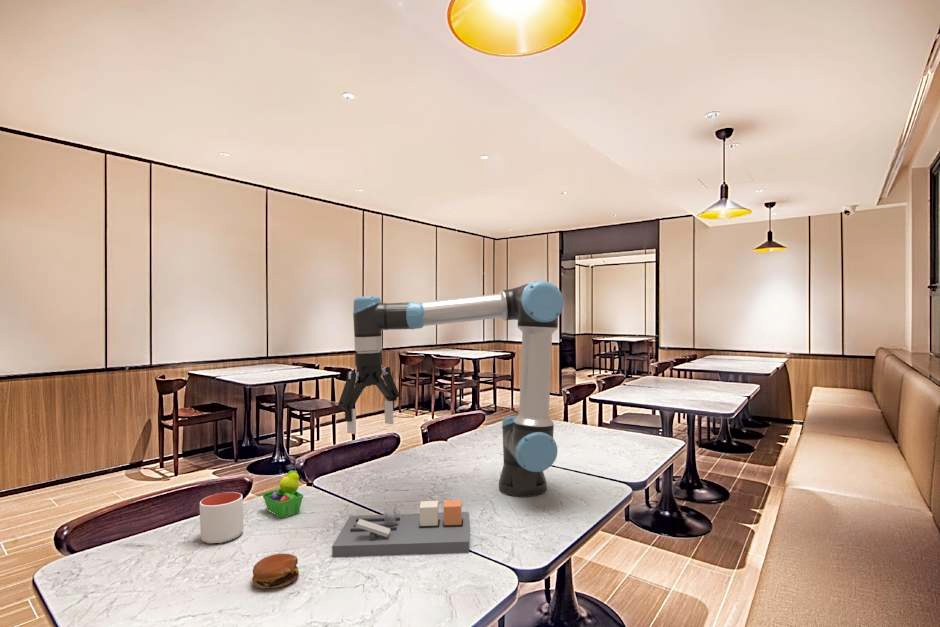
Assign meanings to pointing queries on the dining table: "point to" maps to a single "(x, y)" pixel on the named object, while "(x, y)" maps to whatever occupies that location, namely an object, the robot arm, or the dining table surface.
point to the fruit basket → (285, 496)
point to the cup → (221, 517)
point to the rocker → (373, 527)
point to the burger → (275, 571)
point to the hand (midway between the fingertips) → (371, 428)
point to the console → (402, 537)
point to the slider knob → (390, 515)
